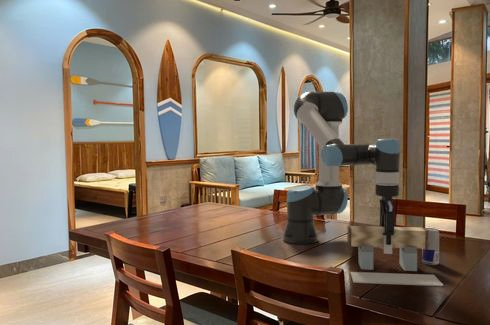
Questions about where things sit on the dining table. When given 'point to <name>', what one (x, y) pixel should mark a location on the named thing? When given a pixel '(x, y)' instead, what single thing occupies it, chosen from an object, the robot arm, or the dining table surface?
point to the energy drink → (431, 248)
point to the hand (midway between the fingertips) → (386, 250)
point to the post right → (408, 258)
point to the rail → (376, 239)
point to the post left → (366, 257)
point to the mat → (395, 278)
